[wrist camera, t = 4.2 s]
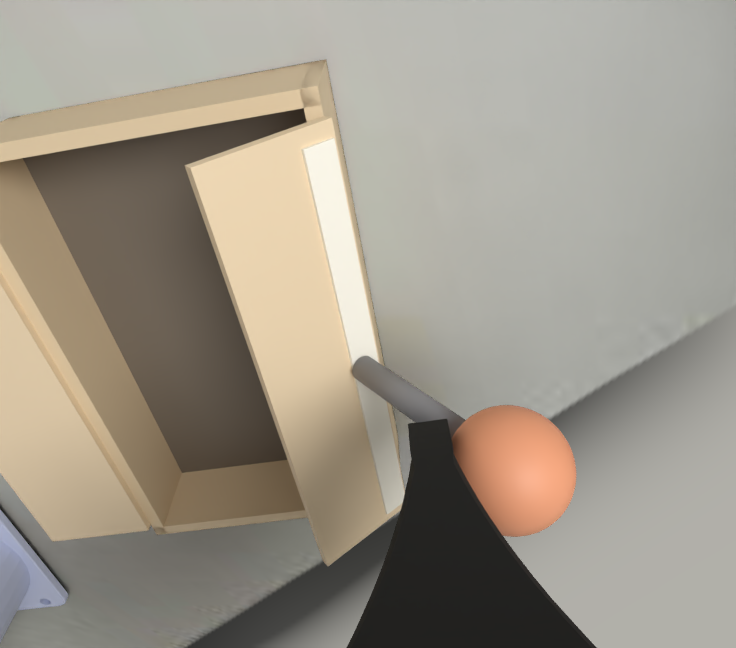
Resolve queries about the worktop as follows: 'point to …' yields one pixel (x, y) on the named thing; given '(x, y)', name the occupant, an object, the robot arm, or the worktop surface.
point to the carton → (138, 314)
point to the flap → (348, 351)
